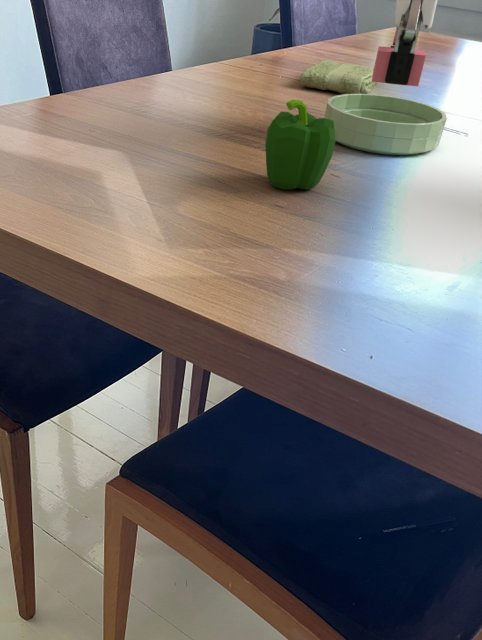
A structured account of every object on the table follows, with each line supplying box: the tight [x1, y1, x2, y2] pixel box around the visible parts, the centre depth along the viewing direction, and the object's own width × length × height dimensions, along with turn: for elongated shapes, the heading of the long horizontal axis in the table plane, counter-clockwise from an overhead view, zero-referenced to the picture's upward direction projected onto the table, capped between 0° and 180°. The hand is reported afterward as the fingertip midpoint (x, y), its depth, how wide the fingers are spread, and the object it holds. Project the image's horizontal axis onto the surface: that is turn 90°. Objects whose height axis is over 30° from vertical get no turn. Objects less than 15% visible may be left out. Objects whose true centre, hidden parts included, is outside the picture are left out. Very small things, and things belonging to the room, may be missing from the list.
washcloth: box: [300, 59, 378, 95], centre depth 138 cm, size 13×18×3 cm
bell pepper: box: [264, 99, 337, 190], centre depth 88 cm, size 8×8×10 cm
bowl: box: [323, 93, 448, 156], centre depth 109 cm, size 17×17×4 cm
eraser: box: [372, 46, 427, 87], centre depth 105 cm, size 6×4×4 cm, turn 76°
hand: (395, 79), depth 106 cm, fingers closed on eraser, 4 cm apart
